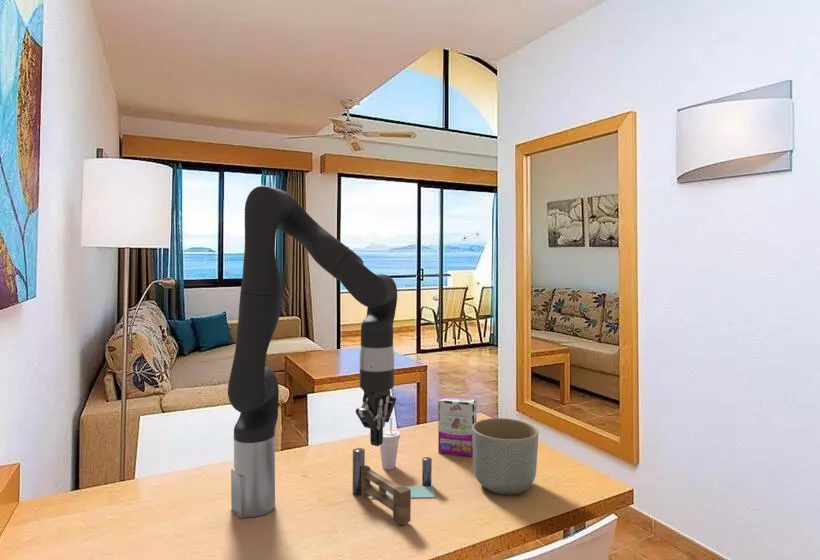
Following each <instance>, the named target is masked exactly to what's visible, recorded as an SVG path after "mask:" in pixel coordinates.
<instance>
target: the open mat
mask: <svg viewBox="0 0 820 560" xmlns="http://www.w3.org/2000/svg"><path fill="white" fill-rule="evenodd" d="M375 487H376V488H378V489H379V486H375ZM406 487H407V488H409V489H411V499H436V495H435V489H434V486H433V485H431V486H429V487H425V486H422V485H421V486H420V485H419V486H414V485H413V486H406ZM386 494H387V495H389V496H390V497H392V498H393V495H392V494H391V493H389V492H388V491H386ZM370 500H375V499H374V498H373V497H371V496H370Z"/></svg>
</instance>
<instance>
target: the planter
mask: <svg viewBox="0 0 820 560" xmlns="http://www.w3.org/2000/svg"><path fill="white" fill-rule="evenodd" d="M472 448H473V457H472V468H473V473H474V476H475V478H476V480H477V482H478V483H479V484H480V485H481V486H482V487H484V488H485V489H487V490H488V491H490V492H492V493H496V494H499V495H509V496H510V495H517V494H520V493H522V492H523V493H524V491H526V490H528V489H529V488H530V487H532V485H533V483H534V481H535V479H536V475H537V469H538V466H537V465H538V464H537V463H538V449H539V430H538V428H537V427H536V426H535V425H533V424H531V423H529V422H526V421H522V420H519V419H514V418H506V417H505V418H504V417H498V418H497V417H496V418H485V419H480V420H478V421H476V423H474V424H473V426H472Z"/></svg>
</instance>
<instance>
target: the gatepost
mask: <svg viewBox="0 0 820 560" xmlns="http://www.w3.org/2000/svg"><path fill="white" fill-rule="evenodd" d="M365 451H366V450H365V448H361V447H356V448H353V449H352V495H353V496H355V497H362V496H361V467H363V466H366V465H365V464H366V463H365V462H366V458H365V456H366V455H365V454H366V453H365Z"/></svg>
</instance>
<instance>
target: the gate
mask: <svg viewBox="0 0 820 560" xmlns="http://www.w3.org/2000/svg"><path fill="white" fill-rule="evenodd" d="M371 482H372V483H373V484H375V485H376V486H374V485H373V484H371ZM376 487H379V489H378V488H376ZM407 487H408V486H406V485H404V484H401V485H397V484H396V483H394V482H393V481H391V480H389V479H388V478H386V477H385V476H383V475H382V474H379V473H378V472H376V471H375V470H374V469H373V470H372V469H371V467H370V466H369V465H367V464H366V465H365V466H363V467H361V496H360V497H363V498H364V499H365V498H369V497H370V498H371V497H373V498H374V499H373V500H376V501H378V502H379V503H381V504H382V505H383V506H385V507H386V508H387V509H389V510H391V511H392V520H393V521H394V522H395V523H396V524H398V525H399V526H402V525H404V524H407V523H409V522H411V512H412V511H411V509H412V508H411V504H412V502H411V500H412V498H411V489H409V488H407ZM386 491H388V492H389V493H391V494H392V495H393V498H392V497H390V496H389V495H387V494H386Z"/></svg>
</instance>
